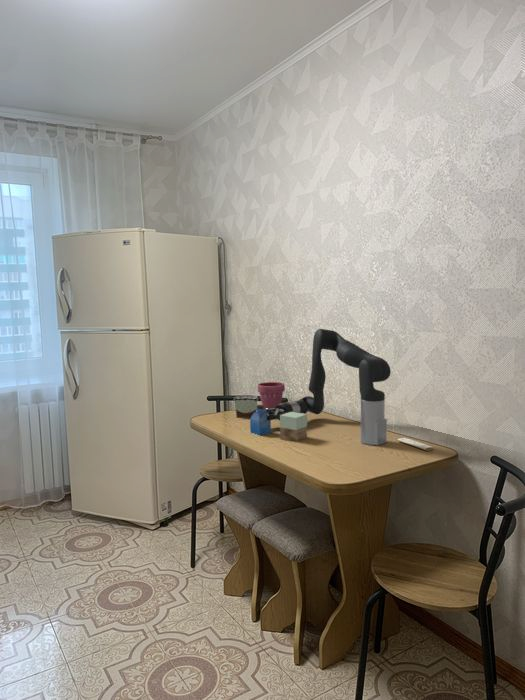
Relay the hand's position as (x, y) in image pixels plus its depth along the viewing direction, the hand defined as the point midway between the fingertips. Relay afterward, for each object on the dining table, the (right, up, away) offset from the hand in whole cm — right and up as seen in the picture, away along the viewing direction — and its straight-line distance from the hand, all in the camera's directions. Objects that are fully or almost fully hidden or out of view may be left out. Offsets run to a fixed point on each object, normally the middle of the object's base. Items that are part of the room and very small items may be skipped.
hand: (260, 416), depth 220 cm
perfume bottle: (0, -7, 0) cm, 7 cm away
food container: (-7, -4, +32) cm, 33 cm away
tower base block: (+14, -8, -9) cm, 18 cm away
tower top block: (+14, -3, -9) cm, 17 cm away
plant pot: (+5, -2, +49) cm, 50 cm away
